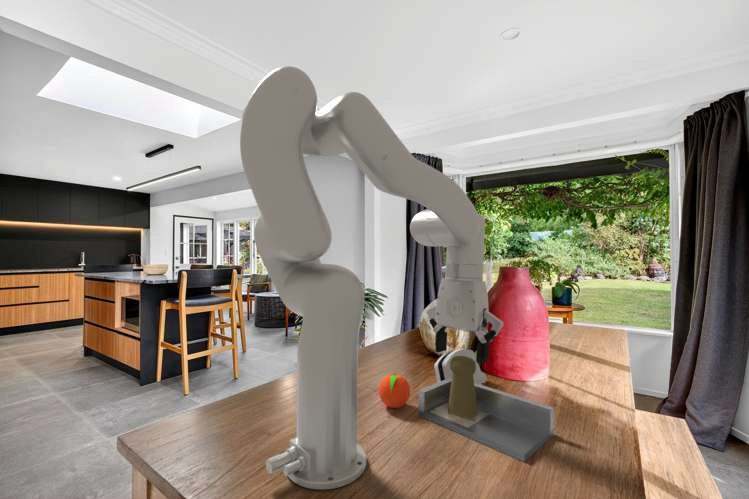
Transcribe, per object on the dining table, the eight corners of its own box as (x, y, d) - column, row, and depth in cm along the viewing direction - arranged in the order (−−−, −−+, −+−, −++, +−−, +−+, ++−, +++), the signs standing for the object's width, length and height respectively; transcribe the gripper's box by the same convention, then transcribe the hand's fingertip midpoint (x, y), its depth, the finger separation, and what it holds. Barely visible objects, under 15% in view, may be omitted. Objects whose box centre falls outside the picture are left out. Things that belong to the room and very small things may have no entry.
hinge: (458, 400, 82) (445, 356, 84) (441, 401, 84) (429, 358, 87) (488, 380, 94) (476, 342, 96) (472, 382, 97) (461, 345, 99)
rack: (524, 462, 58) (524, 429, 58) (418, 415, 73) (418, 390, 73) (554, 434, 67) (554, 406, 67) (454, 398, 82) (454, 375, 82)
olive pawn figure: (457, 401, 78) (458, 351, 78) (483, 410, 73) (483, 357, 73) (441, 410, 73) (442, 356, 73) (467, 420, 69) (468, 363, 69)
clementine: (407, 417, 72) (407, 383, 72) (374, 414, 74) (374, 379, 74) (412, 401, 80) (412, 370, 80) (381, 398, 82) (382, 367, 82)
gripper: (419, 270, 77) (416, 349, 76) (494, 275, 64) (490, 370, 64) (440, 271, 82) (436, 345, 82) (513, 276, 70) (509, 364, 69)
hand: (460, 356), depth 73 cm, fingers open, 9 cm apart
